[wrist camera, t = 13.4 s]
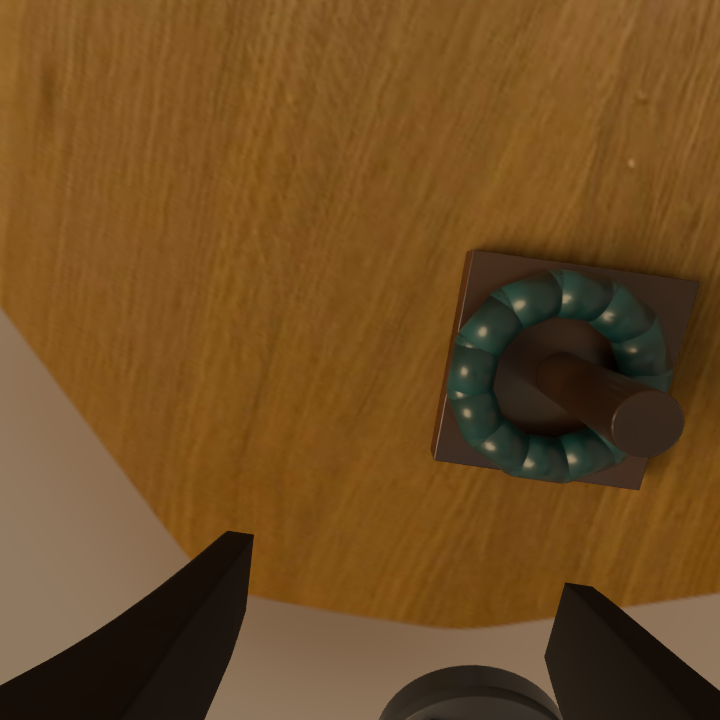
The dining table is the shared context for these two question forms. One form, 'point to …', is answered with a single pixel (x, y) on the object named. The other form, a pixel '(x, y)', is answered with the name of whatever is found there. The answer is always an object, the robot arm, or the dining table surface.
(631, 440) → the post
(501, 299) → the ring
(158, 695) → the robot arm
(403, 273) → the dining table surface
